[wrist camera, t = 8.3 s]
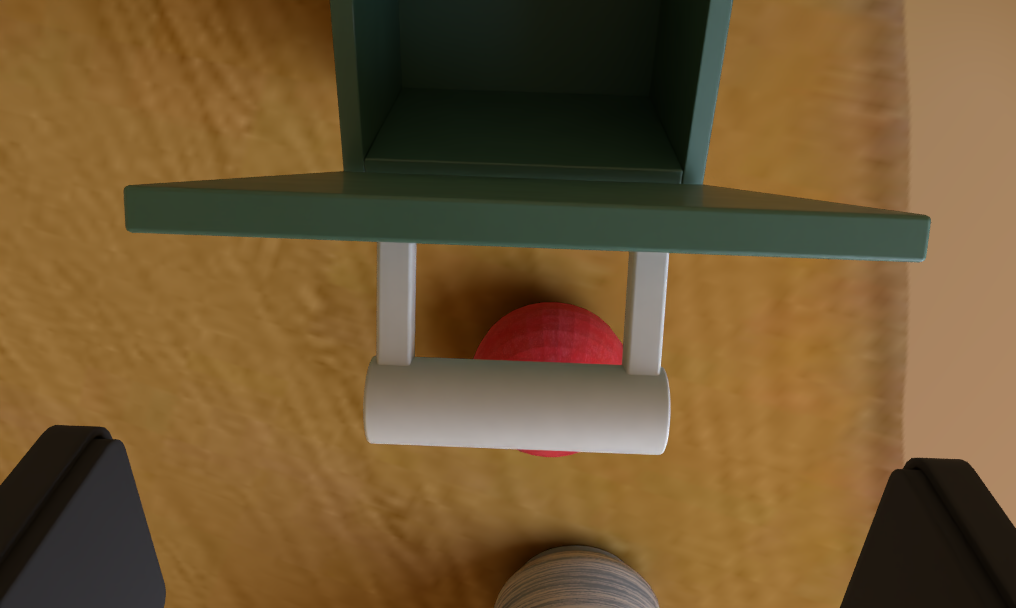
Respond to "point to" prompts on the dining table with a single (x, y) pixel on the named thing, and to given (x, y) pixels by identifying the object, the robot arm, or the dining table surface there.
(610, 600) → the vase
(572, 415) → the lid
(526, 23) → the chest
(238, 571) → the dining table surface
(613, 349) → the red apple
